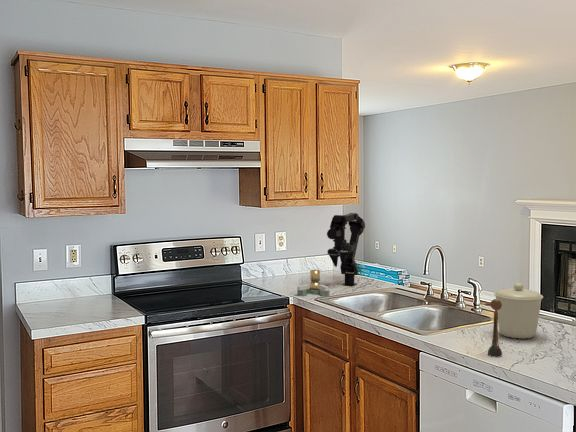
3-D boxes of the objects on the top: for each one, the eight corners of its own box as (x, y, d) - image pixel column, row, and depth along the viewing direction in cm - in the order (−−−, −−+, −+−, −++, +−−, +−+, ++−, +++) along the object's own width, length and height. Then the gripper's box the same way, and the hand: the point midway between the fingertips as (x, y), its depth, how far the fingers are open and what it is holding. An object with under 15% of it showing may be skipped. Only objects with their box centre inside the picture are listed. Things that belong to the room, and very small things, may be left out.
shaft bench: (313, 290, 335) (313, 281, 334) (338, 294, 323) (338, 285, 323) (292, 294, 322) (292, 285, 321) (317, 299, 310) (317, 289, 310)
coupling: (310, 291, 331) (310, 269, 330) (320, 291, 330) (320, 269, 330) (309, 293, 326) (309, 270, 325) (319, 293, 326) (319, 271, 325)
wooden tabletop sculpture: (483, 355, 214) (484, 299, 213) (486, 351, 218) (487, 296, 217) (500, 357, 211) (502, 300, 210) (503, 354, 215) (504, 298, 214)
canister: (532, 344, 227) (534, 289, 226) (485, 336, 239) (486, 283, 238) (548, 335, 241) (550, 282, 240) (503, 327, 253) (504, 277, 251)
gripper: (345, 240, 325) (345, 269, 326) (359, 237, 341) (359, 264, 342) (327, 238, 330) (326, 267, 331) (341, 236, 346) (341, 263, 347)
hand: (339, 265), depth 338 cm, fingers open, 9 cm apart
